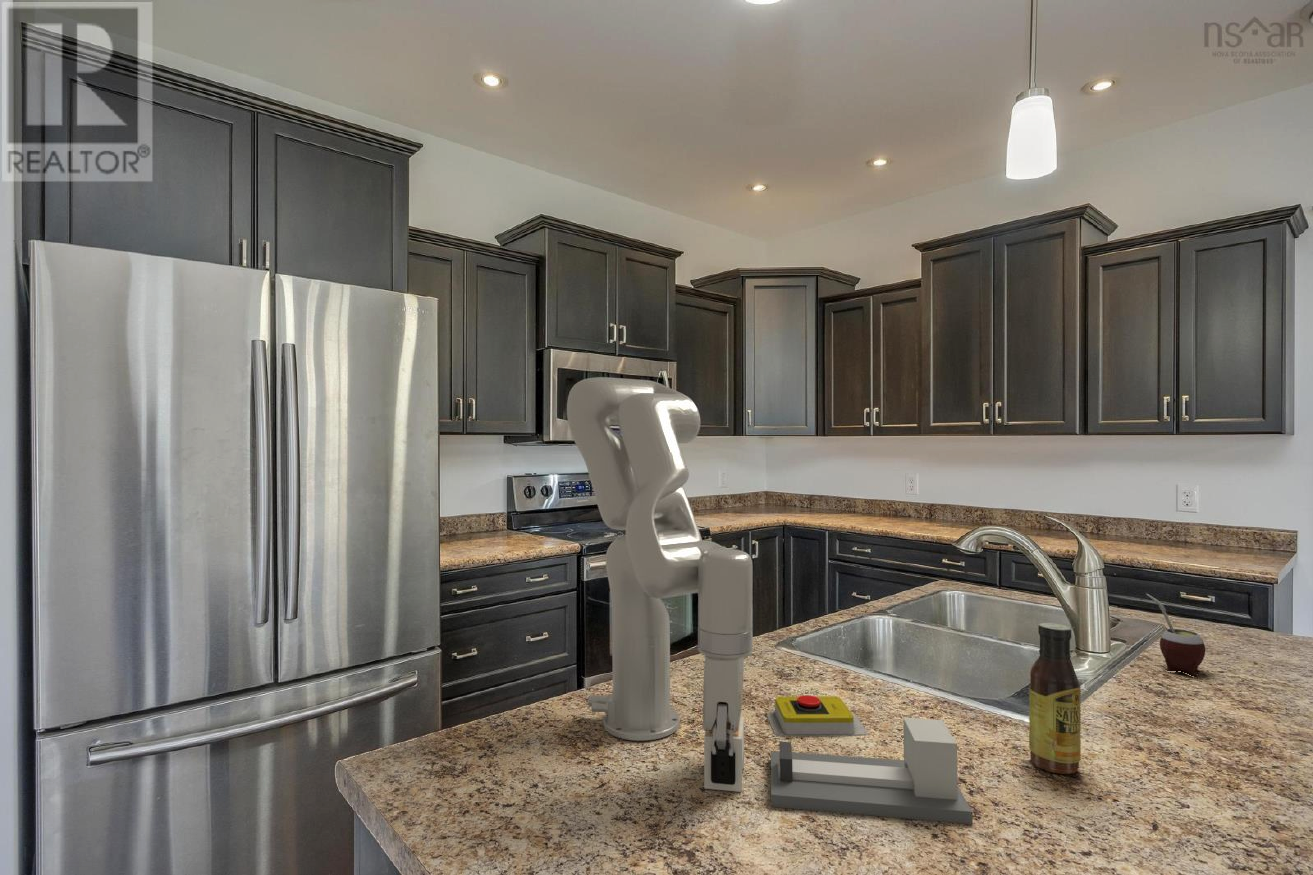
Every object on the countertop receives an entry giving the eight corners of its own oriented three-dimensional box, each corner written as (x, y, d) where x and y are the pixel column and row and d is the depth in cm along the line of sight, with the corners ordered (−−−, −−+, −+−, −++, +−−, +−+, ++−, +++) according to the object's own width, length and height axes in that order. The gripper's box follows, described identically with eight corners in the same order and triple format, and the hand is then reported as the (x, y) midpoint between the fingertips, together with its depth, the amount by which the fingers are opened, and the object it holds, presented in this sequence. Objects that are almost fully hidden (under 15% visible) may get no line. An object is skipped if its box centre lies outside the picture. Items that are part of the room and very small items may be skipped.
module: (704, 788, 86) (704, 734, 86) (709, 762, 93) (709, 712, 93) (741, 792, 85) (741, 737, 85) (743, 765, 92) (744, 715, 92)
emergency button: (765, 689, 111) (851, 688, 111) (765, 714, 111) (852, 714, 111) (775, 711, 102) (869, 710, 102) (775, 739, 102) (869, 738, 102)
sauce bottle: (1063, 781, 87) (1061, 635, 88) (1019, 761, 93) (1017, 623, 93) (1091, 770, 90) (1089, 628, 91) (1047, 751, 96) (1045, 618, 96)
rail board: (771, 806, 82) (770, 739, 82) (770, 761, 94) (770, 702, 94) (972, 824, 78) (971, 753, 78) (945, 774, 90) (944, 713, 90)
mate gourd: (1215, 678, 125) (1213, 601, 125) (1174, 678, 125) (1173, 601, 125) (1184, 665, 133) (1183, 592, 133) (1145, 665, 133) (1144, 592, 133)
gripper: (704, 621, 98) (704, 737, 98) (690, 659, 81) (690, 800, 81) (753, 623, 97) (753, 741, 97) (750, 663, 80) (750, 806, 80)
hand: (725, 767), depth 89 cm, fingers closed on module, 7 cm apart
